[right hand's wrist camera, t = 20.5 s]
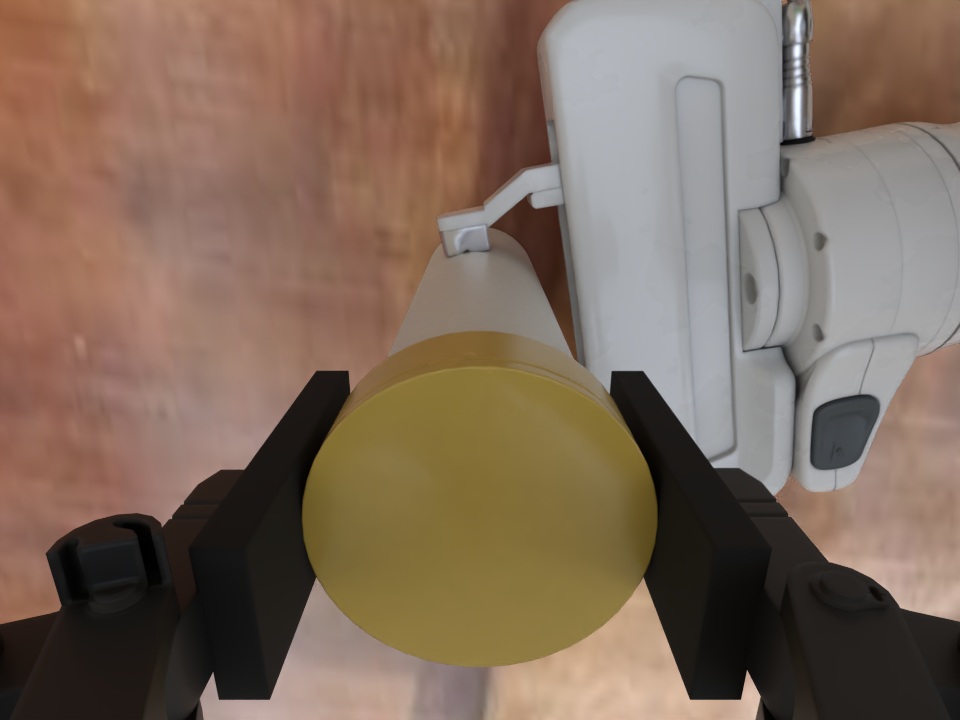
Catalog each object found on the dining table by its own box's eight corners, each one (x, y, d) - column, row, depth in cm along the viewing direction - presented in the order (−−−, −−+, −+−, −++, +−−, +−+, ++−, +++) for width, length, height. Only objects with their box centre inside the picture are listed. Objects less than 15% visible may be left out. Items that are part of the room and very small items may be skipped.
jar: (416, 236, 29) (301, 399, 10) (525, 217, 28) (611, 352, 10) (437, 340, 30) (371, 637, 12) (540, 323, 30) (635, 603, 12)
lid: (626, 589, 13) (650, 661, 11) (348, 600, 13) (327, 674, 11) (637, 321, 11) (669, 356, 9) (306, 337, 11) (271, 375, 9)
